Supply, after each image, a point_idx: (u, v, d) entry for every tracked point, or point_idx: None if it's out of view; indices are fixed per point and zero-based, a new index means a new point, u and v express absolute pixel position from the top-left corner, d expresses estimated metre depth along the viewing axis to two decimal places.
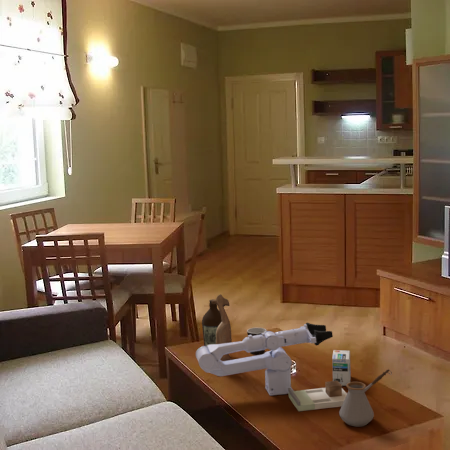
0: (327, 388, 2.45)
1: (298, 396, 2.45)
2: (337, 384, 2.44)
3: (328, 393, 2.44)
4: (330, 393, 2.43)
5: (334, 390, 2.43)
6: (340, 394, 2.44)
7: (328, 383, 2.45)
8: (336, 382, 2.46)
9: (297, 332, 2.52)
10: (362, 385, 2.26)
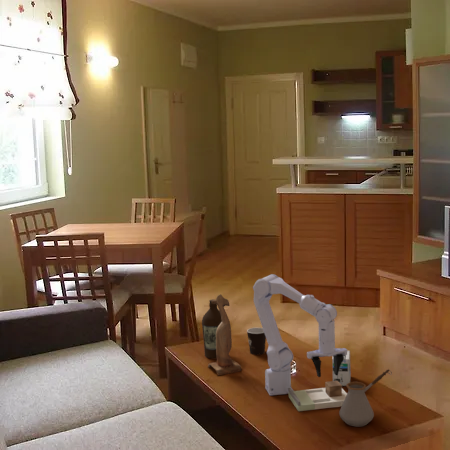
0: (327, 388, 2.45)
1: (298, 396, 2.45)
2: (337, 384, 2.44)
3: (328, 393, 2.44)
4: (330, 393, 2.43)
5: (334, 390, 2.43)
6: (340, 394, 2.44)
7: (328, 383, 2.45)
8: (336, 382, 2.46)
9: (323, 343, 2.40)
10: (362, 385, 2.26)
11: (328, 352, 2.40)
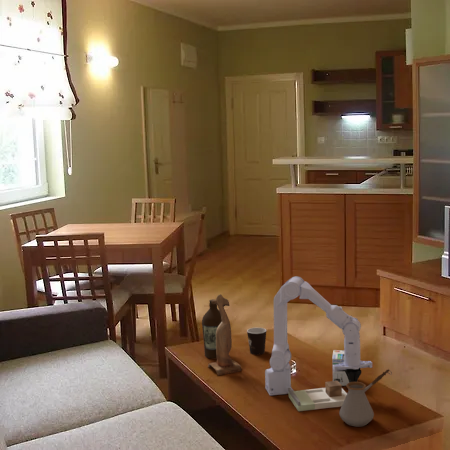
0: (327, 388, 2.45)
1: (298, 396, 2.45)
2: (337, 384, 2.44)
3: (328, 393, 2.44)
4: (330, 393, 2.43)
5: (334, 390, 2.43)
6: (340, 394, 2.44)
7: (328, 383, 2.45)
8: (336, 382, 2.46)
9: (349, 357, 2.42)
10: (362, 385, 2.26)
11: (354, 365, 2.42)
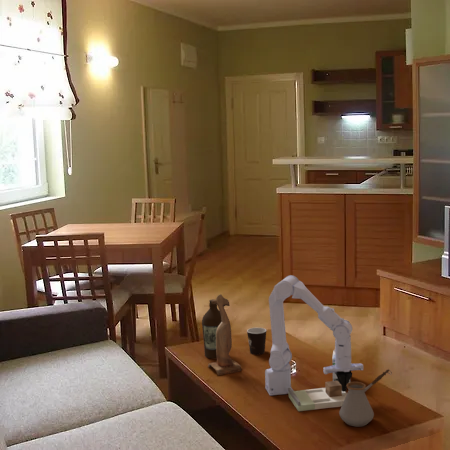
0: (327, 388, 2.45)
1: (298, 396, 2.45)
2: (337, 384, 2.44)
3: (328, 393, 2.44)
4: (330, 393, 2.43)
5: (334, 390, 2.43)
6: (340, 394, 2.44)
7: (328, 383, 2.45)
8: (336, 382, 2.46)
9: (340, 359, 2.42)
10: (362, 385, 2.26)
11: (344, 368, 2.42)
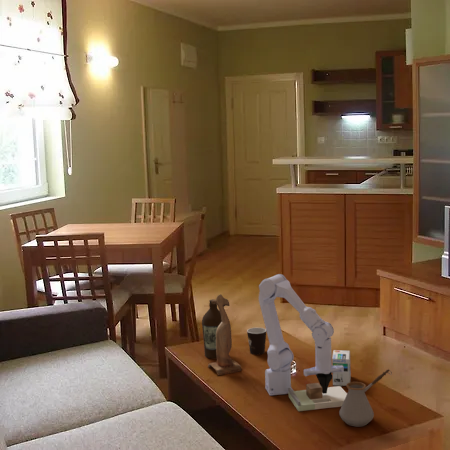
0: (308, 390, 2.43)
1: (298, 396, 2.45)
2: (318, 386, 2.43)
3: (309, 395, 2.43)
4: (311, 395, 2.42)
5: (315, 392, 2.42)
6: (321, 396, 2.42)
7: (309, 385, 2.44)
8: (317, 384, 2.45)
9: (320, 361, 2.41)
10: (362, 385, 2.26)
11: (325, 370, 2.41)
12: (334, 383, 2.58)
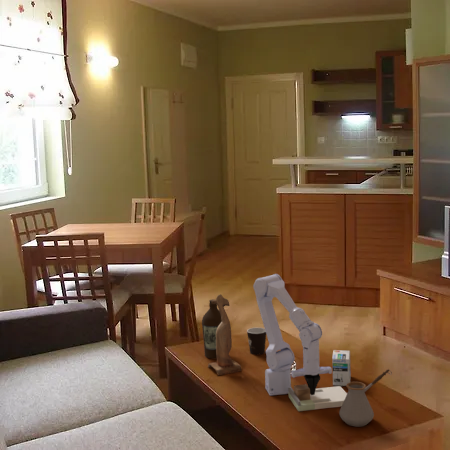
0: (295, 392, 2.43)
1: None
2: (305, 388, 2.42)
3: None
4: (298, 397, 2.41)
5: (303, 394, 2.41)
6: (308, 398, 2.41)
7: (296, 387, 2.43)
8: (305, 386, 2.44)
9: (308, 362, 2.40)
10: (362, 385, 2.26)
11: (312, 371, 2.40)
12: (334, 383, 2.58)
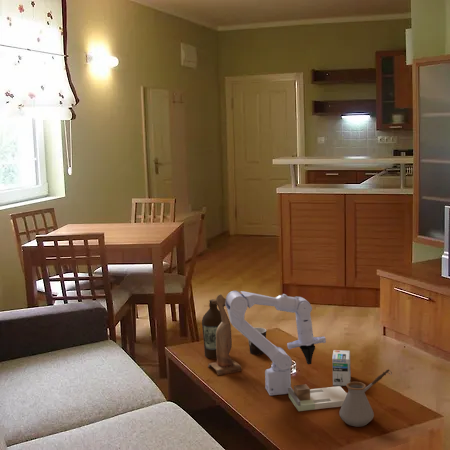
0: (295, 392, 2.43)
1: None
2: (305, 388, 2.42)
3: None
4: (298, 397, 2.41)
5: (303, 394, 2.41)
6: (308, 398, 2.41)
7: (296, 387, 2.43)
8: (305, 386, 2.44)
9: (301, 334, 2.52)
10: (362, 385, 2.26)
11: (306, 342, 2.52)
12: (334, 383, 2.58)
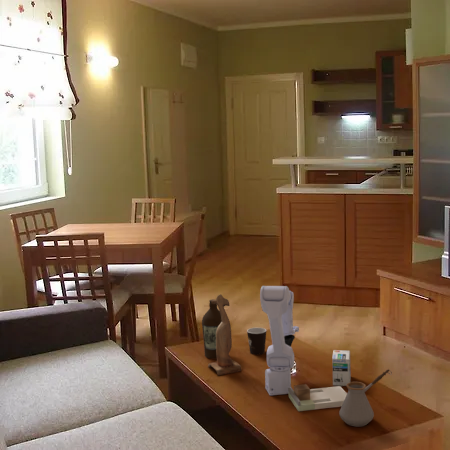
0: (295, 392, 2.43)
1: None
2: (305, 388, 2.42)
3: None
4: (298, 397, 2.41)
5: (303, 394, 2.41)
6: (308, 398, 2.41)
7: (296, 387, 2.43)
8: (305, 386, 2.44)
9: (286, 324, 2.64)
10: (362, 385, 2.26)
11: (290, 331, 2.65)
12: (334, 383, 2.58)
